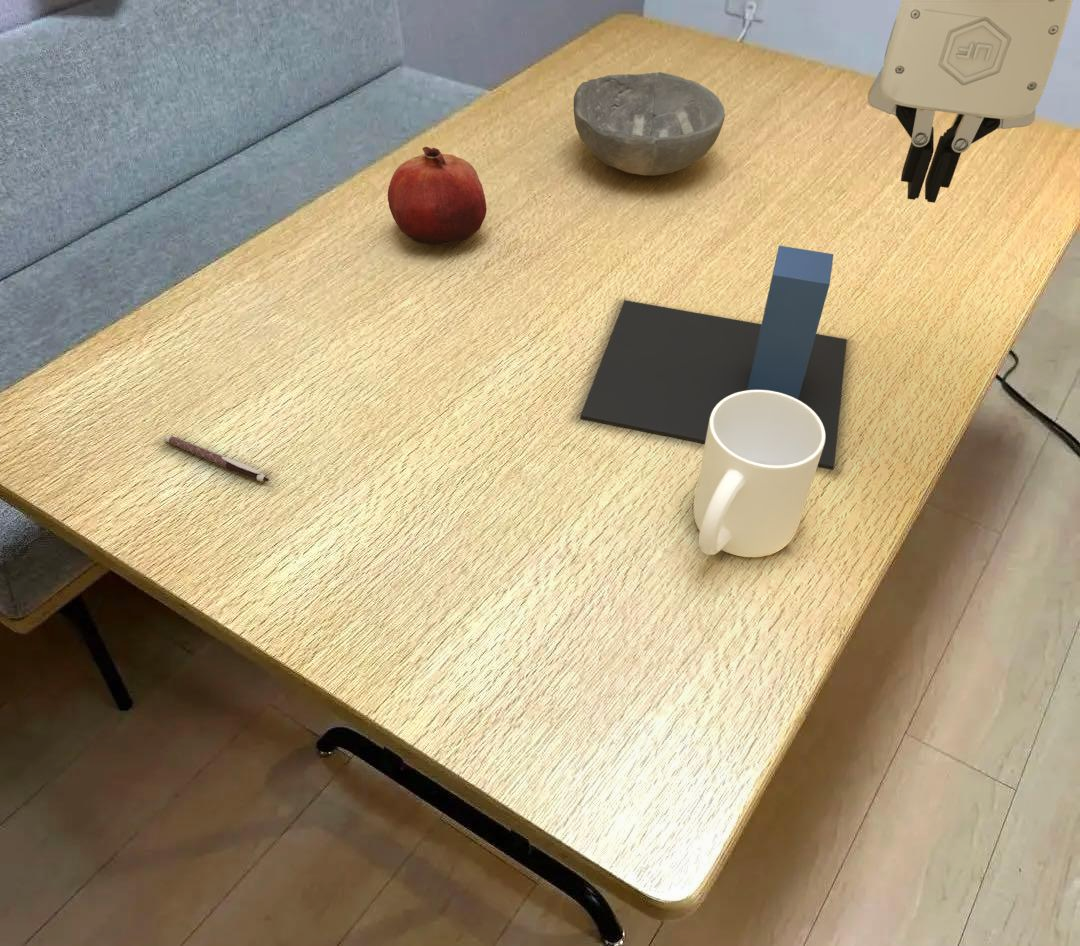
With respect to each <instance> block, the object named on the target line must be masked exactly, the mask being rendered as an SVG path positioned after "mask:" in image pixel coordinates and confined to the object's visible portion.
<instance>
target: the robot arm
mask: <svg viewBox="0 0 1080 946" xmlns="http://www.w3.org/2000/svg"><path fill="white" fill-rule="evenodd" d="M1073 1H1074V0H901V2H900V4H899V8H898V11H897V14H896V16H895V19H894V22H893V26H892V29H891V32H890V36H889V38H888V41H887V46H886V49H885V54H884V60H883V66H882V67H881V69H880V71H879V72H878V74H877V76H876V77H875V79H874V81H873V83H872V85H871V86H870V87H869V89H868V93H867V103H868V105H869V106H870V107H871V108H874V109H877V110H879V111H881V112H884V113H886V114H888V115H893V116H895V117H896V118H897V120H898V121H899V123H900V124H901V126H902V127H903V128H904V130H905V132H906V133H907V134H908V136H909V138H910V139H911V141H910V144H909V147H908V150H907V154H906V158H905V161H904V164H903V167H902V171H901V175H900V181H901V182H903V183H907V200H913V201H915V200H916V199H919V198H920V194H921V192H922V189H923V186H924V200H925V201H926V202H927V203H931V204H932V203H934V204H935V203H936V202H937V199H938V195H939V193H940V190H941V188H947V189H949V188H950V186H951V183H952V180H953V177H954V175H955V173H956V169H957V166H958V163H959V160H960V158H961V155H962V153H964V152H966V151H968V150H969V148H970V146H972V144H974V143H975V142H977V141H980V140H981V139H982V138H984V137H986V136H987V135H989V134H991V133H992V132H994V131H996V130H999V129H1002V130H1005V129H1006V130H1007V129H1014V128H1023V127H1029V126H1031V125H1032V124H1033V123H1034V122H1035V118H1036V117H1035V116H1036V108H1037V106H1038V105H1039V103H1040V100H1041V98H1042V96H1043V93H1044V91H1045V88H1046V86H1047V83H1048V80H1049V77H1050V74H1051V72H1052V68H1053V66H1054V63H1055V59H1056V56H1057V53H1058V50H1059V47H1060V44H1061V41H1062V38H1063V35H1064V32H1065V29H1066V25H1067V22H1068V18H1069V15H1070V11H1071V9H1072V5H1073ZM936 112H941V113H949V114H955V117H954V119H953V122H952V124H951V126H950V127H949V128H947V129H946V130H945V131H944V132H943V135H939V139H938V141H937V145H936V148H935V144H934V141H935V140H934V139H935V138H934V131H935V129H934V126H933V123H934V120H935V114H936ZM934 148H935V151H934Z"/></svg>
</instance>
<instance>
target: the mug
mask: <svg viewBox="0 0 1080 946" xmlns="http://www.w3.org/2000/svg"><path fill="white" fill-rule="evenodd" d="M824 444H825V430H824V426H823V424H822V422H821V420H820V418H819V417H818V416H817V414H816V413H815V412H814V411H813V410H812V409H811V408H810V407H808V406H807V405H806V404H804V403H803V402H801V401H799V400H797V399H795V398H793V397H791V396H788V395H786V394H782V393H779V392H774V391H768V390H747V391H742V392H737V393H735V394H732V395H730V396H728V397H726V398H724V399H723V400H721V401H720V402H719V403H718V404H717V405H716V406H715V408H714V409H713V411H712V413H711V416H710V420H709V425H708V430H707V435H706V441H705V443H704V446H703V452H702V457H701V463H700V468H699V472H698V478H697V482H696V483H697V484H696V489H695V494H694V499H693V500H694V501H693V518H694V522H695V525H696V528H697V529H698V530H699V534H698V547H699V549H700V551H701V553H703V554H704V555H707V556H714V555H717V554H718V553H719V552H721V551H723V552H724V553H726V554H731V555H733V556H736V557H737V556H738V557H741V558H742V557H744V558H761V557H767V556H771V555H773V554H775V553H776V554H777V552H779V551H781V550H782V549H784V548H785V547H787V546H788V545H789V543H791V541H792V540H793V538H794V537H795V535H796V534H797V531H798V528H799V525H800V524H801V523H800V522H801V520H802V516H803V513H804V510H805V506H806V503H807V501H808V498H809V495H810V491H811V489H812V484H813V482H814V478H815V476H816V472H817V469H818V467H819V466H818V463H819V460H820V457H821V453H822V450H823V447H824Z"/></svg>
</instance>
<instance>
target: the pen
mask: <svg viewBox="0 0 1080 946" xmlns="http://www.w3.org/2000/svg"><path fill="white" fill-rule="evenodd" d="M162 437H163V439H164V440H165V441H166V442H167V443H169V444H170V445H173V446H175V447H177V448H179V449H182V450H184V451H187V452H189V453H191V454H193V455H196V456H198V457H200V458H202V459H204V460H207V461H209V462H212V463H214V464H216V465H219V466H221V467H223V468H225V469H228V470H231V471H233V472H236V473H238V474H240V475H243V476H246V477H248V478H251V479H253V480H256V481H259V482H269V481H270V478H269V477H267V476H266V475H265V474H264V473H262V472H261V471H259V470H258V469H256V468H254V467H252V466H250V465H247V464H245V463H244V462H242V461H238V460H235V459H233V458H231V457H228V456H222V455H220V454H218V453H215V452H213V451H210V450H208V449H205V448H203V447H201V446H197V445H195V444H193V443H190V442H188V441H185V440H183V439H180V438H178V437H175V436H171V435H163V436H162Z"/></svg>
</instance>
